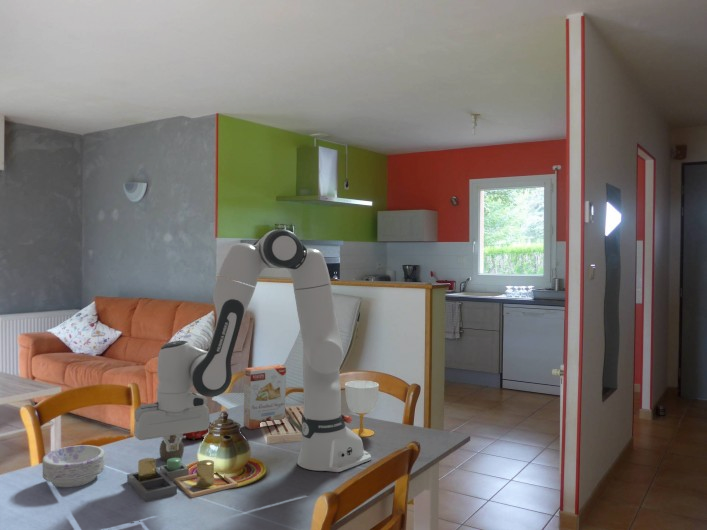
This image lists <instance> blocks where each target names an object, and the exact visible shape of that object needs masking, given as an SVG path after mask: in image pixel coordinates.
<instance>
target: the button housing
mask: <svg viewBox="0 0 707 530" xmlns="http://www.w3.org/2000/svg"><path fill="white" fill-rule="evenodd" d="M159 470H160V471H161V472H162V473H163V474H164V475H165V476H166V477H167V478H169V479H170V480H171V481H172V480H174V478H178V477H183V476H187V475H190V474H189V473H190V471H189V470H190V469H189V467H188V466H186V465H185V464H184V463H183V462H181V469H179V470H174V471H170V472H169V471H167V464H165V465H159Z"/></svg>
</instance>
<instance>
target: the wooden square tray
mask: <svg viewBox="0 0 707 530" xmlns="http://www.w3.org/2000/svg"><path fill="white" fill-rule="evenodd" d="M191 479H192V480H193V479H197V472H196V473H193V474H189V475H187V476H183V477H178V478H174V479H173V483H174V484H175V485H176V486H177V487H179V488H180V489H181V490H182V491H183V492H185V493H186V494H187V495H188V496H189V497H190V498H197V497H200V496H203V495H204V496H205V495H208V494H212V493H216V492H221V491H224V490H228V489H232V488H237V487H238V482H237V481H235V480H234V479H233V478H231V477H230V476H228V475H227V474H226V475H224V479H223V480H225V481H226V482H227V484H224V485H220V486H219V485H218V486H216V487H215V486H214V487H211V488H210V487H209V488H208V489H202V490H198V491H194V492H193V490H191V489H190V488H189V487H188V486H187V485H185V483H183V482H185V481H187V480H188V481H189V480H191Z"/></svg>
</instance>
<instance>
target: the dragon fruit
mask: <svg viewBox="0 0 707 530" xmlns="http://www.w3.org/2000/svg"><path fill="white" fill-rule="evenodd" d="M211 423H212V421H210V424H211ZM211 425H212V424H211ZM208 433H209V432H208V429H207V430H202V431H196V432H190V433H184V434H183V438H184V437H185V439H186V440H189V439H191V440H193V441H195V440H196V439H204V438H203V437H204V436H206V435H207V434H208Z"/></svg>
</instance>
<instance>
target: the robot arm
mask: <svg viewBox="0 0 707 530" xmlns="http://www.w3.org/2000/svg"><path fill="white" fill-rule="evenodd" d="M227 252H228V253H226V256H225V258H224V260H223V262H222V263H221V267H220V269H219V272H218V275H217V277H216V280H215V284H214V288H213V289H214V290H213V295H212V296H213V297H212V300H213V304H214V309H215V313H216V321H215V327H214V330H213V333H212V338H211V341H210V344H209V347H208V350H204V349H201V348H199V347H196V346H194V345H193V344H191V343H190V342H188V341H187V340H175V341H170V342H167V343H165V344H164V345H163V346H161V348H160V349H159V351H158V356H157V367H156V371H157V372H156V375H157V380H158V384H157V388H156V402H151V403H147V404H145V403H144V404H140V405H139V406H137V408H135V410H134V420H135V422H134V430H133V434H134V437H135V438H136V439H137V440H139V441H145V440H152V439H158V438H162V441H163V440H164V442H165V443H166V450H167V451H168V452H170V451H175V450H179V443H180V442H181V440H182V441H183V438H184V437H183V434H184V433H190V432H196V431H202V430H207V429H208V427H209V426H210V422H211V418H210V410H209V407H208V406H207V403H208V398H214V397H217V396H220V395H223V394H224V392H226V391H227V390H228V388H229V387H230V385H231V383H232V378H233V376H232V357H233V353H234V350H235V346H236V343H237V340H238V336H239V332H240V328H241V325H242V322H243V320H244V318H245V315H246V313H247V310H248V307H249V305H250V303H251V301H252V297H253V296H254V293H255V290H256V287H257V283H258V280H259V278H260V275H261V274H262V273H263V271H264V270H265V269H267V268H268V269H269V268H271V269H287V270H288V271H289V274H290V277H291V278H292V285H293V293H294V299H295V300H294V301H295V305H296V311H297V318H298V322H299V328H300V333H301V338H302V374H303V375H302V376H303V377H302V379H303V380H302V381H303V383H302V384H303V410H302V414H301V435H302V436H301V445H300V449H299V454H298V458H297V463H296V464H297V465H298V466H299V467H301V468H303V469H306V470H310V471H315V472H316V471H319V472H324V471H326V472H333V473H339V472H340V473H341V472H344V471H345V470H349V469H351V468H353V467H356V466H359V465H361V464H364V463H366V462H368V461H371V460H372V456H371V453H369V452H368V451H367V450H364V444H363V440H362V437H359V436H358V435H357V434H355V433H354V432H353V431H351V430H352V429H351V428H349V427H347V426H346V424H345V423H347V424H351V423H352V422H353V421H352V420H353V418H352V417H351V416H349V415H344V414H342V413H341V401H342V400H341V399H342V398H341V395H342V393H341V392H342V389H341V388H342V387H341V377H340V376H341V375H340V374H341V373H340V366H341V365H342V363H343V360H344V347H343V341H342V337H341V331H340V328H339V321H338V317H337V312H336V307H335V301H334V294H333V289H332V282H331V276H330V273H329V269H328V266H327V263H326V259H325V257H324V254H323V253H322V251H320V250H318V249H315V248H311V247H309V248H307V247H306V246H305V245H304V244H303V242H302V241H301V240H300V239H299V237H298V236H297V235H296V234H295V233H294V232H292V231H290V230H288V229H284V228H283V229H281V228H280V229H273V230H271V231H268V232H267V233H265V234H264V235H262V236H261V237H260V238H259V239H257V241H255V242H254V243H253V244H250V243H247V242H238V243H235V244H233V245H232V246H231V247H230V249H229V251H227ZM191 387H194V389H195V391H196V392H191ZM210 427H211V426H210ZM171 435H175V436H177V438H176V440H175V442H174V443H169V441H168V440H169V439H170V436H171Z"/></svg>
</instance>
